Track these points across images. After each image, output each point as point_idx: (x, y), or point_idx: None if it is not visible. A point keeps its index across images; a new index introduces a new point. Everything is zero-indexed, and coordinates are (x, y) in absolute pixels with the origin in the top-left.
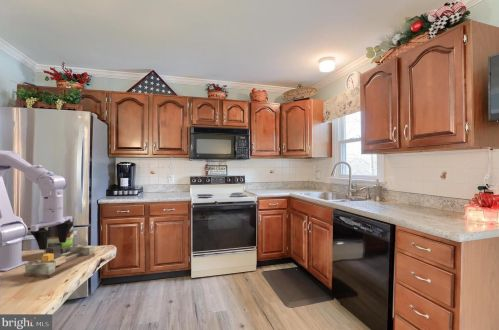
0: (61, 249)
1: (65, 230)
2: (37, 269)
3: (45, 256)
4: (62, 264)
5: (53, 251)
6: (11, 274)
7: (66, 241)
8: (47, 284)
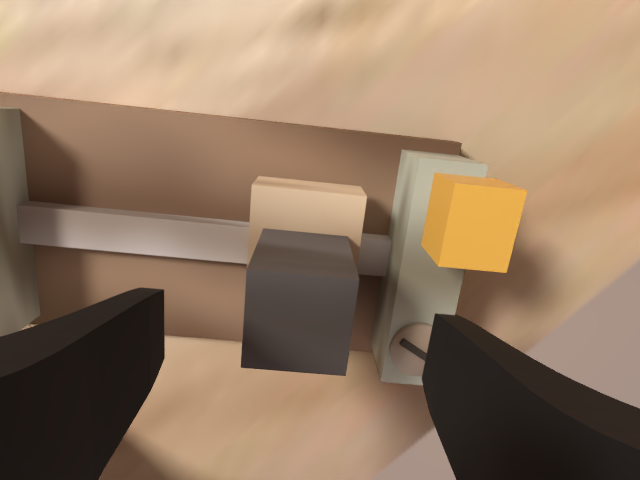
0: None
1: (45, 391)
2: None
3: (512, 226)
4: None
5: (351, 264)
6: (382, 435)
7: None
8: (552, 75)
